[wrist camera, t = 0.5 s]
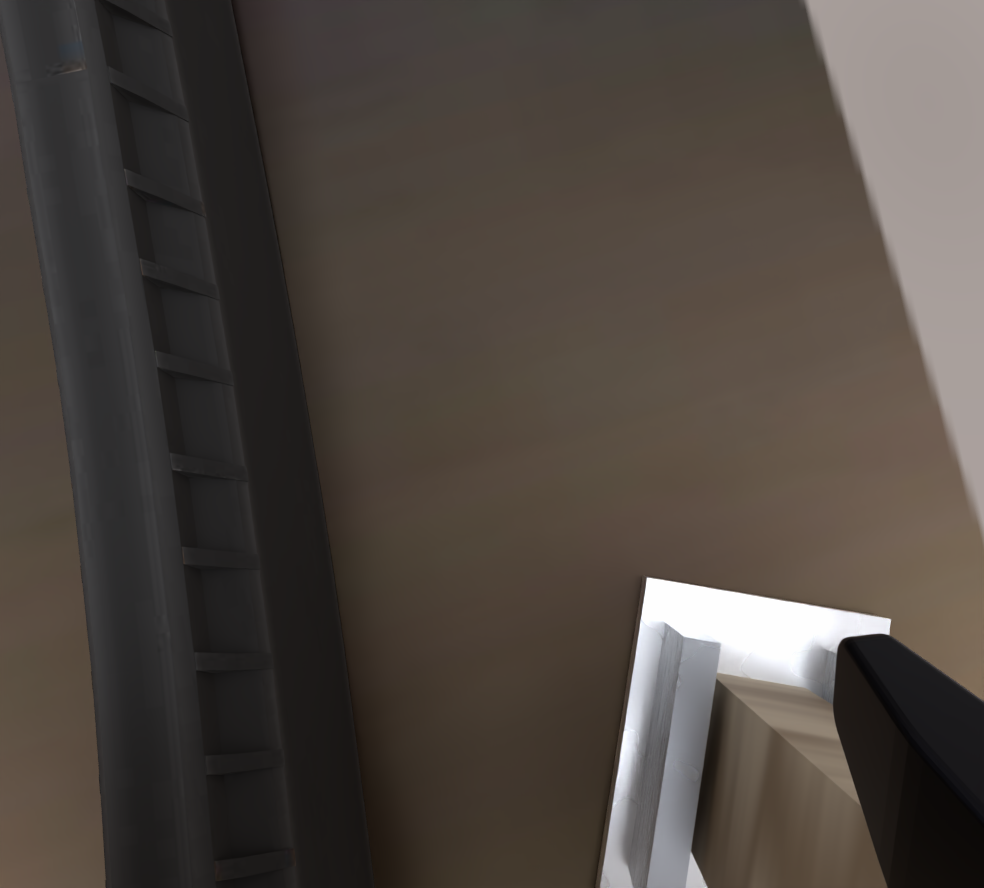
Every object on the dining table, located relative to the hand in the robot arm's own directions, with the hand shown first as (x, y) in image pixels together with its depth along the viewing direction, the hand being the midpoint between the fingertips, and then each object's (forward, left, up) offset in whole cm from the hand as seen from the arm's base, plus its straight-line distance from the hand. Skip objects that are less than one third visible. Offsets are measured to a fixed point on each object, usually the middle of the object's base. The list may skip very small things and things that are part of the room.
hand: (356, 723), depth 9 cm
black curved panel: (+6, +2, -16) cm, 17 cm away
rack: (-7, -3, -16) cm, 18 cm away
